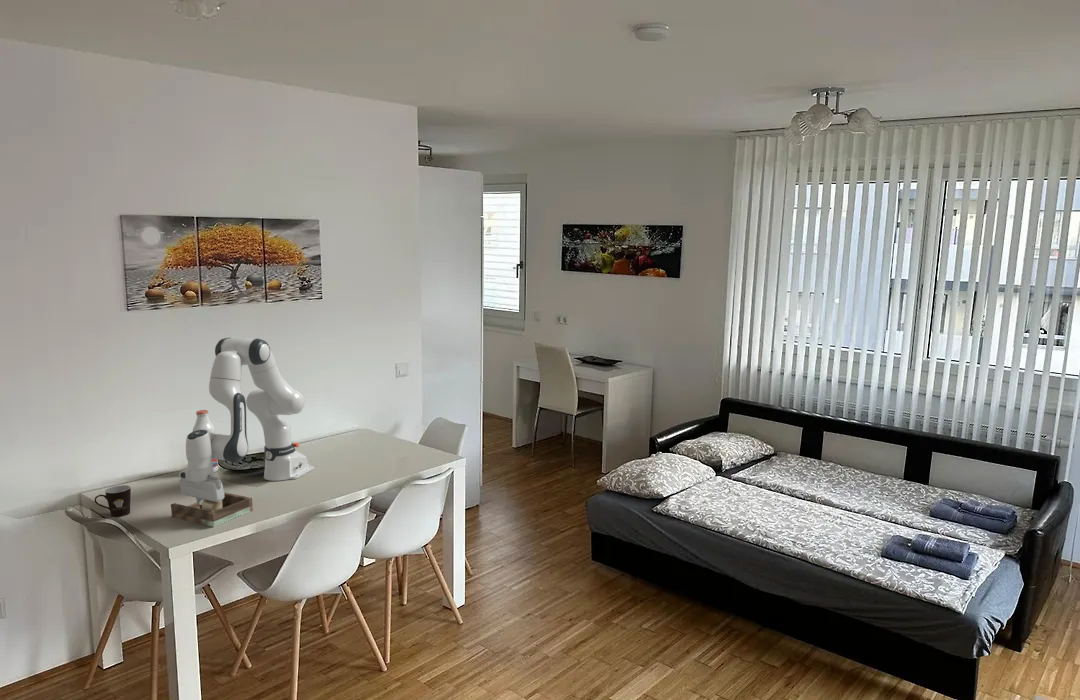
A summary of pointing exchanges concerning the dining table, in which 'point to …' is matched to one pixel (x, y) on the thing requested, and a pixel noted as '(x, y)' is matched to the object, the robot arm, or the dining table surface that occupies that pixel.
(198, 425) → the fruit juice
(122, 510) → the coffee mug
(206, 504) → the birch block
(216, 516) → the box
